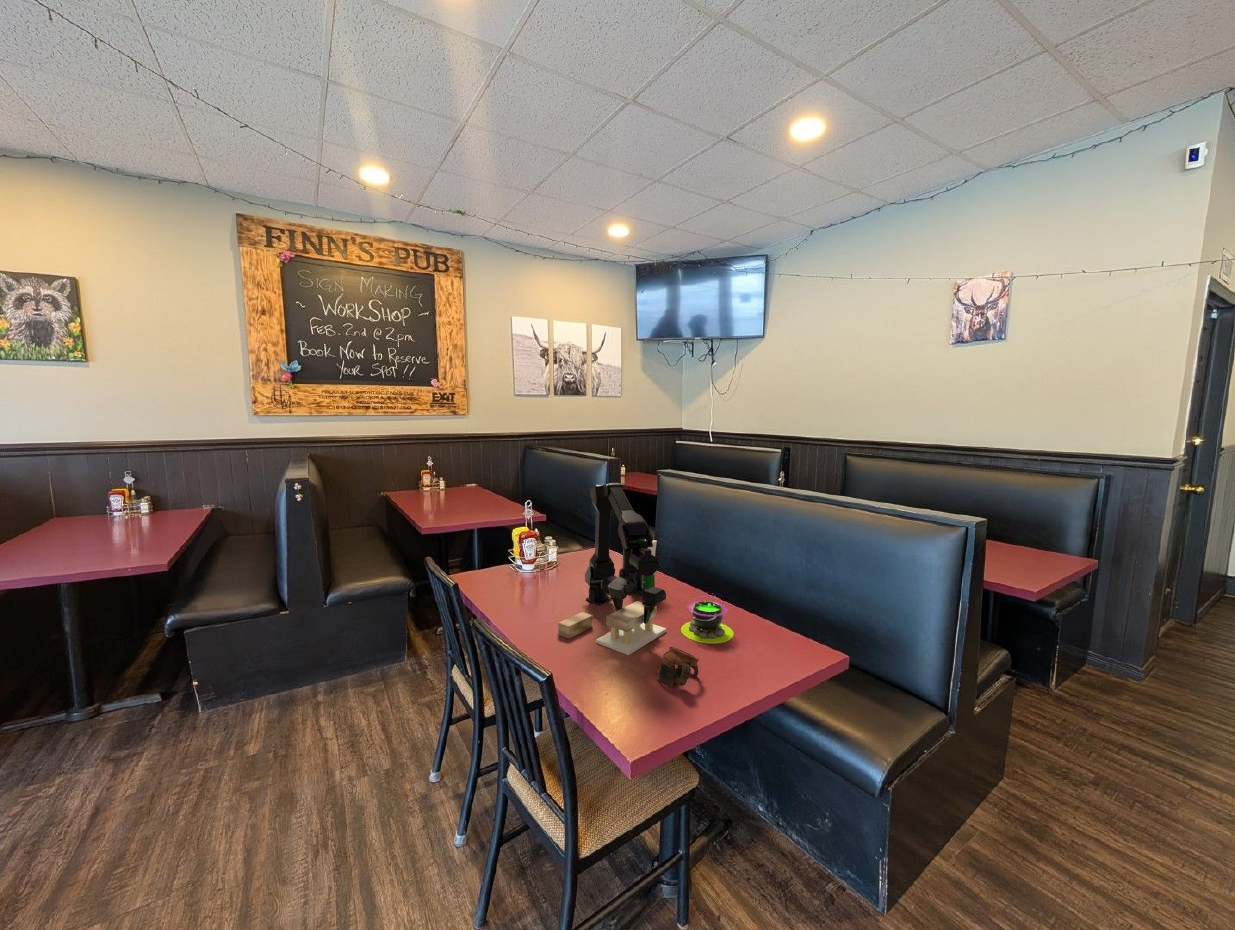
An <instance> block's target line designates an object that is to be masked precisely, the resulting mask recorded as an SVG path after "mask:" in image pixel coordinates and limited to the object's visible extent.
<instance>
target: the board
mask: <svg viewBox="0 0 1235 930" xmlns="http://www.w3.org/2000/svg"><path fill="white" fill-rule="evenodd" d="M657 610H658V609H657V606H656V607H655V608H654V610H653V612H652V614H651V616H650V619H651V618H653V619H654V618H655V617H656V616H657V613H658V611H657ZM605 620H606V623H605V624H606V625H605V626H609V627H610V628H611V627H614V628H616V629H619V630H622V631H625V632H628V631H630V630H632V629H633V628H635V627H637V626H639V625H640V624H642V623H644V606H643V605H642V601H637V600H636V601H634V602H632V603H630V604H628V605H626V606H623V607H622V609H620V610H618V611H616V610H615V611H614V612H612V613H610V614H608V615H606V619H605Z"/></svg>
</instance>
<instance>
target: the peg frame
mask: <svg viewBox="0 0 1235 930" xmlns="http://www.w3.org/2000/svg"><path fill="white" fill-rule="evenodd" d="M665 633H667V628H666V627H662V626H660V625H657V624H654V617H653V618H651V619H649V621H648V623H647V624H644V623H642V624H640V625H639V626H637V627H635V628H633V629H632V630H630V631H628V632H625V631H622V630H619V629H616V628H614V627H611V626H610V631H609V632H607V633H605V634H604V635H602V636H600V637H598V638H596V639H595V641H596V642H595V643H596V644H598V645H601V646H604V647H606V648H609V649H612V650H614V651H616V652H618V653H622V654H624V655H627V656H630V655H631V654H633V653H634V652H637V651H638V650H639V649H641V648H642V647H644V646H645V645H647V644H648V643H650V642H652V641H654V640H655V639H657V638H659V637H660V636H662V635H664V634H665Z"/></svg>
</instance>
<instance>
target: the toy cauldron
mask: <svg viewBox="0 0 1235 930" xmlns="http://www.w3.org/2000/svg"><path fill="white" fill-rule="evenodd" d="M704 593H705V594H707V592H704ZM702 594H703V593H700V595H699V596H698V598H699V597H701V596H703V595H702ZM713 595H714V594H713ZM704 597H705V598H707V596H704ZM713 598H714V599H718V597H716V594H715V595H714V596H710V599H713ZM720 602H723V600H721V599H720ZM686 607H687V609H688V610H689V611H690V612H691V613H690V614H691V616H692V619H693V620H692V621H689V622H688V621H687V622H686V623H684V624H683V625H682V626H681V628H680V631H681V634H682V635H683V636H684V637H686V638H687V639H689V640H690V641H693V642H697V643H702V644H722V643H726V642H728V641H730V640H732V639H733V637H734V636H735V634H734V631H733V629H732V627H731V628H730V627H729V626H728V625H726V624H723V620H724V615H726V614H727V613H728V611H729V609H728V607H726V605H724V604H722V603H719V602H716V601H710V600H708V601H707V600H703V601H702V600H701V601H696V599H694V602H690V603H689V604H688V605H687V606H686Z"/></svg>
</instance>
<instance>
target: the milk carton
mask: <svg viewBox="0 0 1235 930" xmlns="http://www.w3.org/2000/svg"><path fill="white" fill-rule="evenodd" d="M639 541H646V540H645V539H644V540H639ZM639 541H635V542H639ZM657 542H658V540H655V539H653V541H652V543H653V547H648V549H650V550H651V554H652V555H653V556H655V557H656V550H657V549H656V548H657ZM655 574H656V572H655V573H654V574H653V575H651V576H643V581H644V582H646V586H644V587H643V588H644V589H650V588H652V587H656V580H655V579H656V578H655V577H656V575H655Z"/></svg>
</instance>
